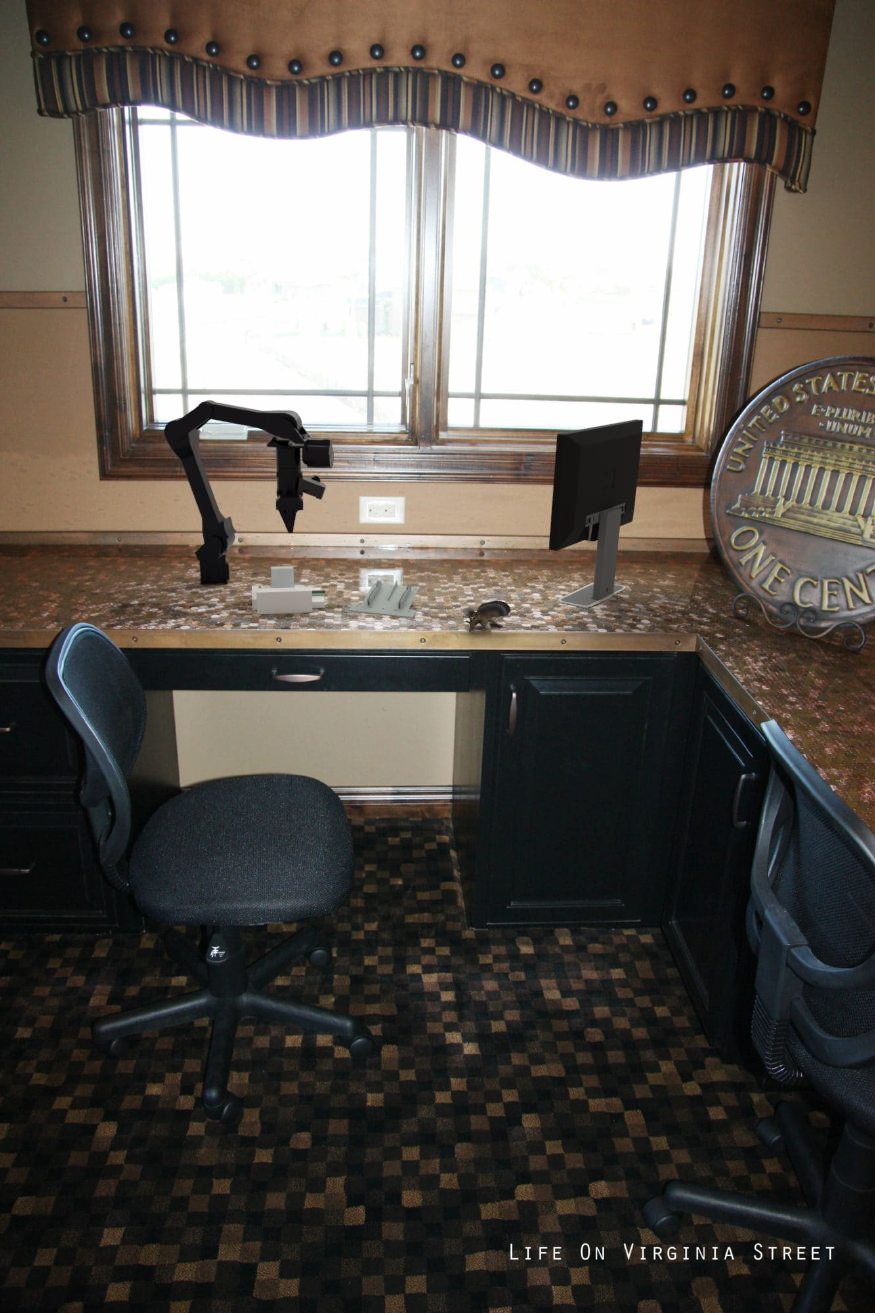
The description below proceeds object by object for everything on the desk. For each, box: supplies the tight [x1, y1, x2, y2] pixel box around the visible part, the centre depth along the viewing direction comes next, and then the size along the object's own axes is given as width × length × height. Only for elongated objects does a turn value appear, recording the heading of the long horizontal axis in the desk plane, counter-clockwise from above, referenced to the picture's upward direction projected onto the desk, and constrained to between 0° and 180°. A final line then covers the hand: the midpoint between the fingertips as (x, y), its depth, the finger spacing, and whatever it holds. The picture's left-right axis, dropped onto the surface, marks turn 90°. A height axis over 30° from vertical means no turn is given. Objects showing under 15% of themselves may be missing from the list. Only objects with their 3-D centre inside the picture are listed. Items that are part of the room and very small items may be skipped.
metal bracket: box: [348, 580, 419, 619], centre depth 209 cm, size 14×6×15 cm
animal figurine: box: [462, 600, 512, 633], centre depth 195 cm, size 8×7×9 cm
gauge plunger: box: [260, 565, 326, 594], centre depth 209 cm, size 14×4×8 cm, turn 101°
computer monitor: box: [548, 418, 644, 609], centre depth 215 cm, size 41×8×40 cm, turn 145°
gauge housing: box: [251, 584, 326, 615], centre depth 208 cm, size 16×14×5 cm
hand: (290, 532), depth 218 cm, fingers closed
